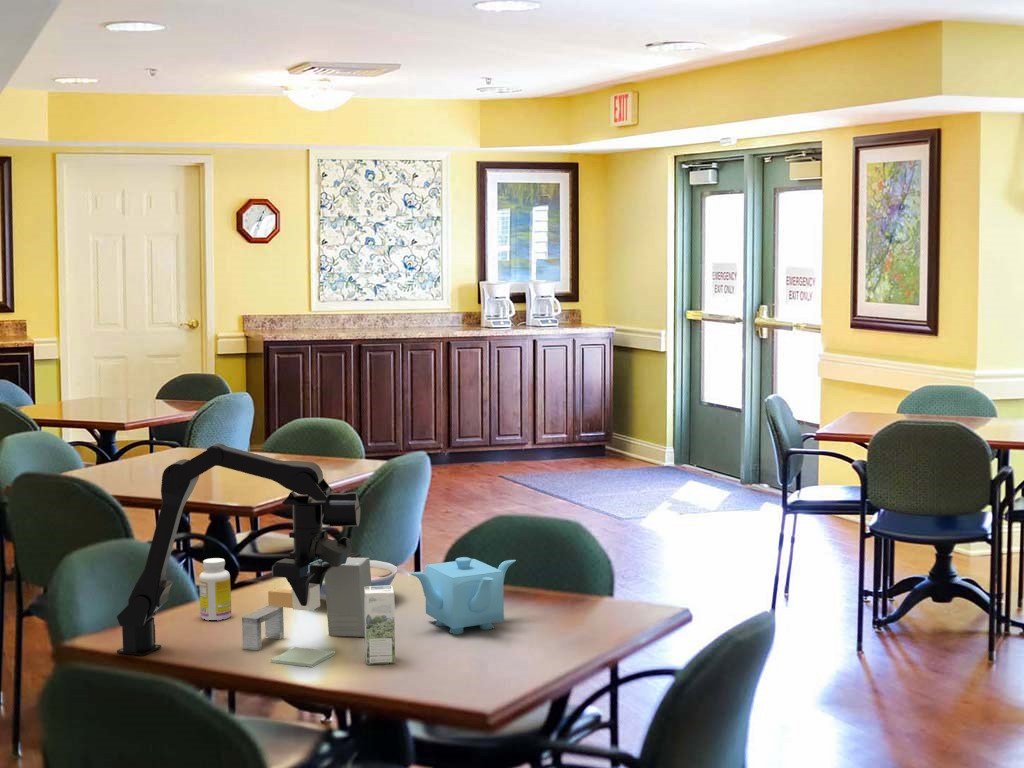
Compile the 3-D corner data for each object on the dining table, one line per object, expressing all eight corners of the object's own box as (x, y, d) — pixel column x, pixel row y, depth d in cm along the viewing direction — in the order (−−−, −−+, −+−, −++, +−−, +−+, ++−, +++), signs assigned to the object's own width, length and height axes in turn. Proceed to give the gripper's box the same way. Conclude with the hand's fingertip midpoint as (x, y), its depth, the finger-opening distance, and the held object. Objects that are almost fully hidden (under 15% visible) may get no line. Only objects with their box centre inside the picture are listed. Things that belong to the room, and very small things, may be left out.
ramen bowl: (356, 621, 300) (355, 584, 299) (274, 608, 311) (273, 572, 310) (420, 595, 321) (420, 561, 320) (341, 584, 333) (340, 551, 332)
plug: (310, 611, 274) (309, 588, 274) (266, 606, 278) (266, 584, 277) (320, 606, 278) (319, 584, 278) (276, 601, 282) (276, 580, 281)
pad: (311, 667, 267) (311, 664, 267) (271, 662, 270) (271, 659, 270) (334, 654, 275) (334, 651, 275) (295, 649, 278) (295, 646, 278)
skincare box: (375, 630, 292) (373, 556, 291) (362, 639, 286) (360, 564, 284) (337, 627, 295) (336, 554, 293) (324, 636, 288) (322, 562, 286)
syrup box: (394, 655, 274) (392, 583, 273) (395, 664, 268) (394, 591, 267) (365, 657, 273) (363, 585, 272) (366, 665, 267) (364, 592, 266)
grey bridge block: (257, 650, 278) (256, 618, 278) (242, 648, 280) (241, 617, 279) (283, 637, 288) (283, 606, 287) (269, 635, 289) (268, 605, 288)
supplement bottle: (235, 613, 307) (233, 557, 306) (226, 621, 300) (224, 563, 299) (206, 613, 307) (204, 556, 306) (196, 621, 301) (194, 563, 300)
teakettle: (439, 612, 306) (437, 547, 305) (520, 617, 301) (519, 551, 299) (408, 635, 288) (406, 566, 287) (493, 641, 283) (492, 571, 282)
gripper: (320, 538, 263) (321, 618, 265) (365, 520, 281) (366, 595, 282) (269, 534, 267) (271, 613, 269) (317, 516, 285) (319, 590, 286)
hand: (309, 603), depth 276 cm, fingers closed on plug, 4 cm apart
